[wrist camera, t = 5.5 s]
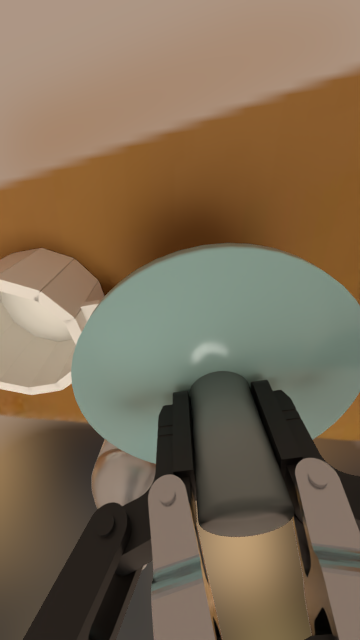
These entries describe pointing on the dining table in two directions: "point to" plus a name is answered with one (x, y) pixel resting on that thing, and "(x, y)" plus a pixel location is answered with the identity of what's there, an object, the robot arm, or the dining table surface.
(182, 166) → the dining table surface
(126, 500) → the plastic bottle
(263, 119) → the dining table surface
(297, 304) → the lid
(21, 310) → the pot
